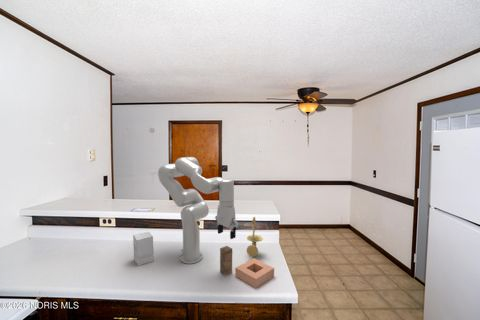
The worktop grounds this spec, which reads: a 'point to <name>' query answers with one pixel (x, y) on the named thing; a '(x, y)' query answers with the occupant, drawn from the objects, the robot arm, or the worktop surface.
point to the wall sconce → (253, 242)
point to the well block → (254, 272)
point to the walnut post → (226, 260)
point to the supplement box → (143, 248)
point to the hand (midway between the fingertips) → (226, 235)
